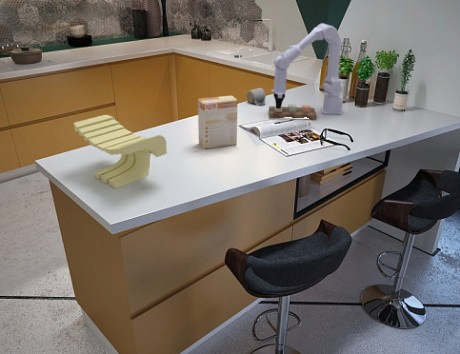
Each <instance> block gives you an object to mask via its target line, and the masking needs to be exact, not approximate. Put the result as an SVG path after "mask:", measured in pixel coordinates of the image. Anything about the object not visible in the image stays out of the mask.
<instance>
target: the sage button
mask: <svg viewBox="0 0 460 354" xmlns="http://www.w3.org/2000/svg"><path fill="white" fill-rule="evenodd" d="M287 107H288V112H296V110H297V107H298V106H297V104H288V106H287Z"/></svg>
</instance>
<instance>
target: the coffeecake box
mask: <svg viewBox="0 0 460 354" xmlns="http://www.w3.org/2000/svg"><path fill="white" fill-rule="evenodd" d="M197 113H198V115H197V116H198V117H197V118H198V122H197V123H198V126H197V127H198V128H197V129H198V145H200V146H201V148H202V149H203V150H206V149H212V148H220V147H228V146H234V145H237V143H238V99H237V98H236V97H234V96H233V95H223V96H215V97H203V98H198V99H197Z"/></svg>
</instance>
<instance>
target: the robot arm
mask: <svg viewBox="0 0 460 354" xmlns="http://www.w3.org/2000/svg"><path fill="white" fill-rule="evenodd" d="M323 40H325V41H326V42H327V43H328V45H329V46H328V58H327V59H328V62H327V63H328V64H327V76H326V77H325V78H324V83H323V84H322V85H323V86H322V89H323V91H324V94H323V104H322V108H320V110H321V114H324V115H325V114H327V115H342V110H343V103H344V97H343V95H341V93H342V91H343V87H342V83H341V82H342V81H341V79H340V77H339V72H340V60H341V59H340V58H341V47H342V45H341V43H342V40H341V37H340V35H339V33H338V29H337V28H336V27H334V26H333V25H330V24H326V23H325V22H324V23H322V22H321V23H320V24H318V25H316V27H314V28H313V29H312V30H311V32H310V33H308V34H307V35H306V36H305V37H304V38H303V39H302V40H301V41H300V42H298V44H293V45H290V46H288V49H286V50H285V51H284V52H282V53H281V54H280V55H278V56H276V57H275V59H274V61H273V65H274V68H275V69H274V81H273V82H274V85H273V89H271V92H272V93H273V98H274V100H275V106H276V108H277V109H280V108H281V107H282V105H283V101H284V99H285V98H286V93H287V88H286V87H287V76H288V75H287V74H288V71H287V70H288V68H289V67H290V65H291V63H292V62H294V61H295V60H296V59H298V57H300V56H301V55H302V51H303V50H304V49H305V48H307V47H308V46H310V45H311V44H312V43H314V42H315V41H323Z"/></svg>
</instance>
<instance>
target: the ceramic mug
mask: <svg viewBox="0 0 460 354" xmlns="http://www.w3.org/2000/svg"><path fill="white" fill-rule="evenodd" d="M246 99H247V102H248V103H250V104H255V105H257V106H259V107H261V106H264V105H265V104H266V92H265V90H264V89H263V88H262V87H257V88H254V89H251V90H248V91H247V93H246Z"/></svg>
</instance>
